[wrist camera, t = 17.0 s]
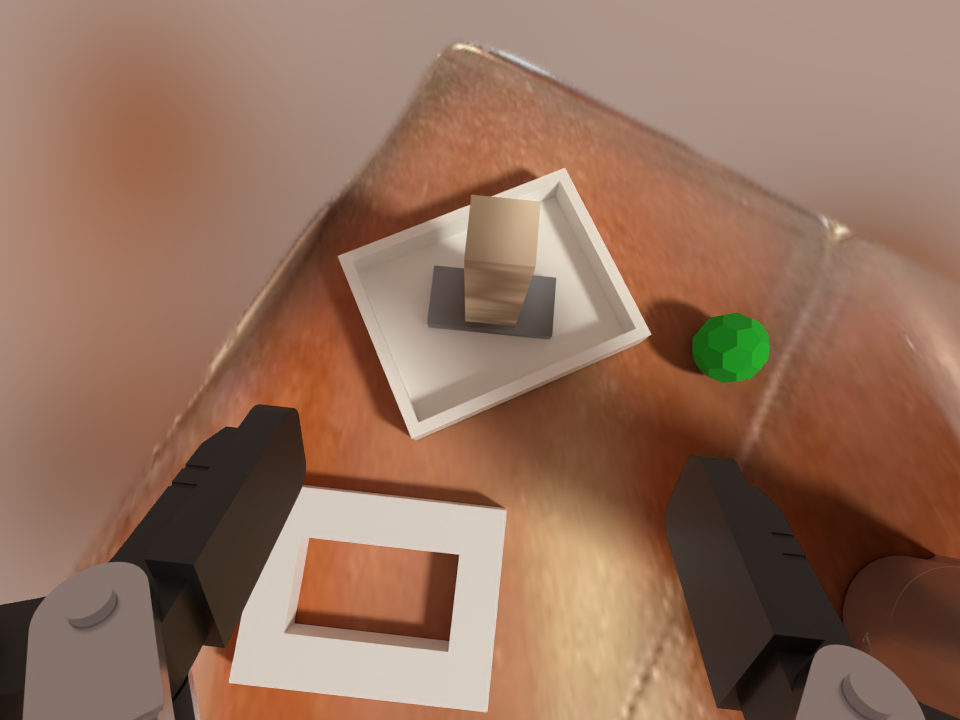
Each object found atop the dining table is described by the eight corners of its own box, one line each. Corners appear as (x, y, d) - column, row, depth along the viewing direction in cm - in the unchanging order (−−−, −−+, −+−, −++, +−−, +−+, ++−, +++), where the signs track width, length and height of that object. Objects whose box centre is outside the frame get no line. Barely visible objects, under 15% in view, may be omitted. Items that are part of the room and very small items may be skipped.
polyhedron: (754, 339, 38) (794, 322, 33) (734, 397, 37) (772, 388, 33) (692, 313, 38) (724, 292, 34) (671, 370, 38) (700, 357, 33)
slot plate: (504, 507, 35) (506, 510, 33) (486, 697, 33) (487, 712, 31) (278, 482, 35) (267, 482, 33) (242, 669, 33) (228, 682, 31)
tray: (557, 189, 40) (565, 167, 37) (637, 344, 38) (651, 334, 35) (347, 272, 38) (337, 256, 36) (416, 440, 36) (411, 438, 33)
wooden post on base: (553, 283, 38) (593, 199, 26) (549, 339, 37) (588, 279, 25) (435, 271, 38) (420, 182, 26) (428, 327, 37) (409, 261, 25)
